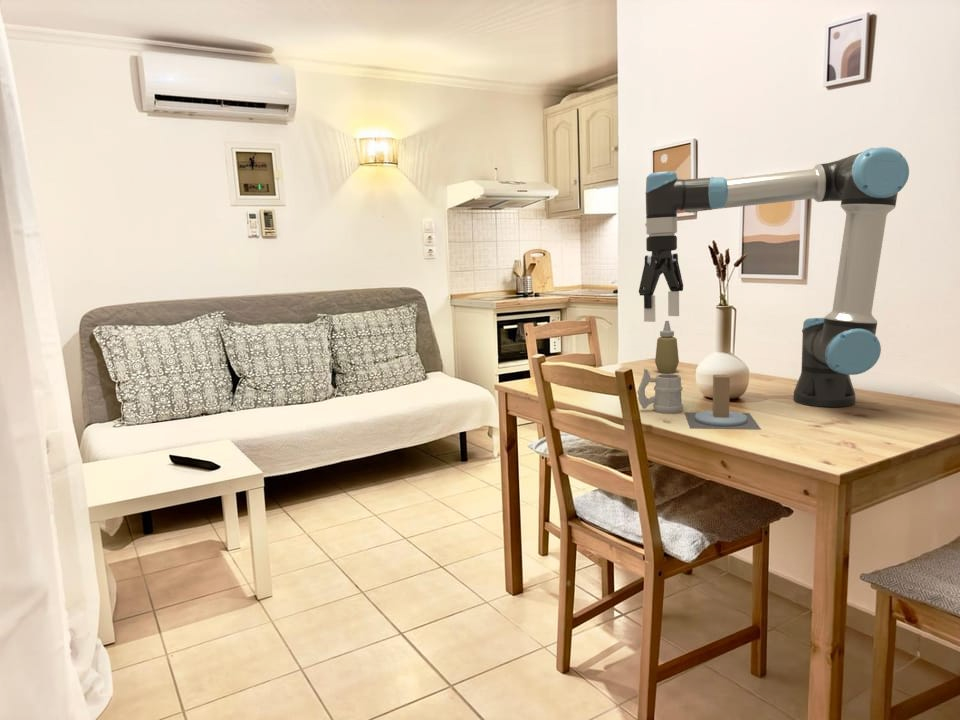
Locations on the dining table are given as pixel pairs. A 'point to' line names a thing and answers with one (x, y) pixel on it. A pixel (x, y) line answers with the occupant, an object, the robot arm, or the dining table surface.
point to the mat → (695, 425)
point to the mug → (662, 393)
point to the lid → (721, 406)
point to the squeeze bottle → (667, 351)
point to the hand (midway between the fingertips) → (662, 318)
